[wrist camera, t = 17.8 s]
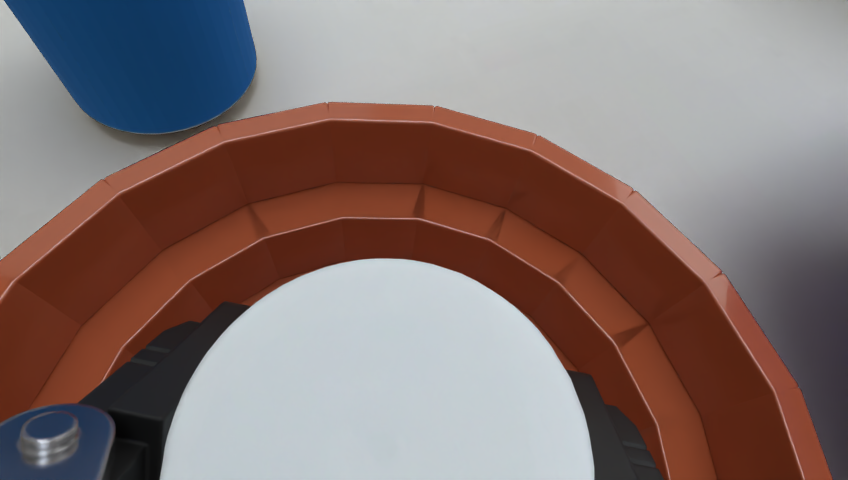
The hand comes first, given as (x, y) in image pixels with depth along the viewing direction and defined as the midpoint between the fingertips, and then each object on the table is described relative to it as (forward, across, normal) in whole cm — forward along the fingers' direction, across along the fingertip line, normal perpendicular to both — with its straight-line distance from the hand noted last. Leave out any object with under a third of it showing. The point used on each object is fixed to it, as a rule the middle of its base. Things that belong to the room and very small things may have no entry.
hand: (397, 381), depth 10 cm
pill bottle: (+2, 0, +5) cm, 5 cm away
